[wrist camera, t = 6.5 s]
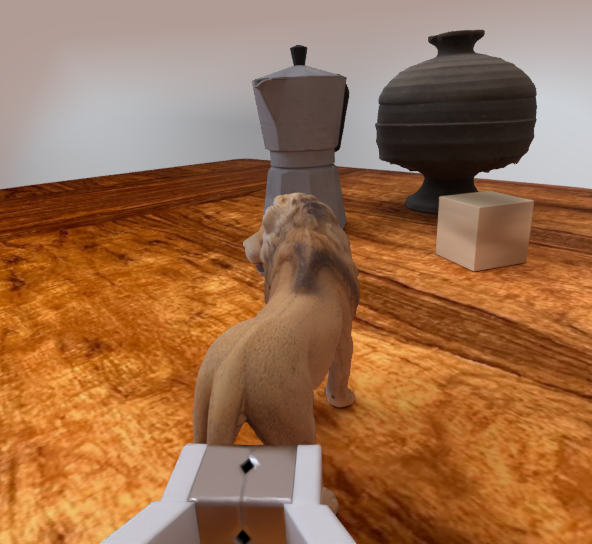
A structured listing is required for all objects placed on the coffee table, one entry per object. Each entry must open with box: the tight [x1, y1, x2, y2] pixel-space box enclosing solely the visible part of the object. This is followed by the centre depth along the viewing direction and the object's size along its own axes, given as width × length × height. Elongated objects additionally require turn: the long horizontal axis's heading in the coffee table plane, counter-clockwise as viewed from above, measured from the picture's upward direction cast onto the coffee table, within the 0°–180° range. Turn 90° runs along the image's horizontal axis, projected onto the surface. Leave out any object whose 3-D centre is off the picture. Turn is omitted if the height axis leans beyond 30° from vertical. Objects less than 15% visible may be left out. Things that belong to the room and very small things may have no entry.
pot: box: [375, 30, 537, 214], centre depth 55 cm, size 18×18×20 cm
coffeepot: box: [252, 45, 349, 230], centre depth 48 cm, size 15×9×18 cm, turn 143°
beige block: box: [436, 191, 534, 271], centre depth 37 cm, size 5×5×5 cm
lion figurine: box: [193, 192, 360, 515], centre depth 16 cm, size 15×5×9 cm, turn 174°
